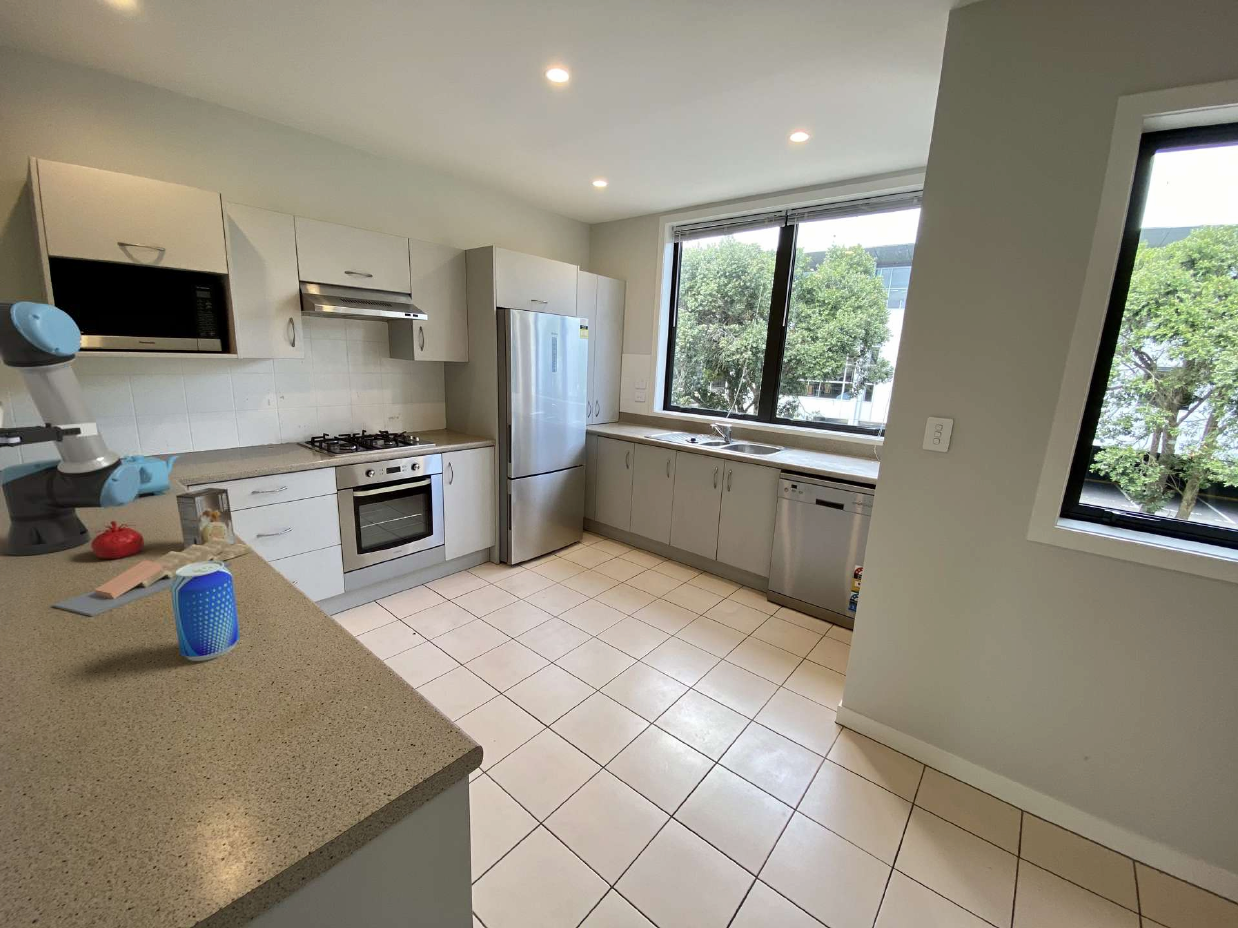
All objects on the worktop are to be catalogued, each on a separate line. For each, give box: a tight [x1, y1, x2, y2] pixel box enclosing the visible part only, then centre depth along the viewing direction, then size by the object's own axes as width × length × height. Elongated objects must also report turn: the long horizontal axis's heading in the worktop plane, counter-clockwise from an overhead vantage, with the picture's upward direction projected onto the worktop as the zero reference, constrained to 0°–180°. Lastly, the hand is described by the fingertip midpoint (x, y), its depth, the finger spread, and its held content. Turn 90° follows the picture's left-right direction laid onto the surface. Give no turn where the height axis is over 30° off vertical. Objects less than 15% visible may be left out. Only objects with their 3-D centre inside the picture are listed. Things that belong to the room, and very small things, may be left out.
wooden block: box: [208, 543, 253, 561], centre depth 131 cm, size 2×5×10 cm
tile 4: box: [195, 538, 231, 563], centre depth 126 cm, size 2×5×10 cm
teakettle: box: [120, 454, 181, 500], centre depth 184 cm, size 19×19×15 cm
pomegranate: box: [91, 520, 145, 560], centre depth 130 cm, size 10×10×9 cm
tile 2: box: [136, 550, 189, 588], centre depth 117 cm, size 2×5×10 cm
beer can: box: [169, 561, 241, 662], centre depth 89 cm, size 8×8×16 cm
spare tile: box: [94, 560, 163, 599], centre depth 111 cm, size 2×5×10 cm
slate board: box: [51, 560, 233, 617], centre depth 115 cm, size 12×28×1 cm, turn 164°
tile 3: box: [163, 544, 211, 579], centre depth 121 cm, size 2×5×10 cm
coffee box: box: [175, 487, 236, 550], centre depth 136 cm, size 9×6×16 cm
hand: (94, 428), depth 115 cm, fingers closed
